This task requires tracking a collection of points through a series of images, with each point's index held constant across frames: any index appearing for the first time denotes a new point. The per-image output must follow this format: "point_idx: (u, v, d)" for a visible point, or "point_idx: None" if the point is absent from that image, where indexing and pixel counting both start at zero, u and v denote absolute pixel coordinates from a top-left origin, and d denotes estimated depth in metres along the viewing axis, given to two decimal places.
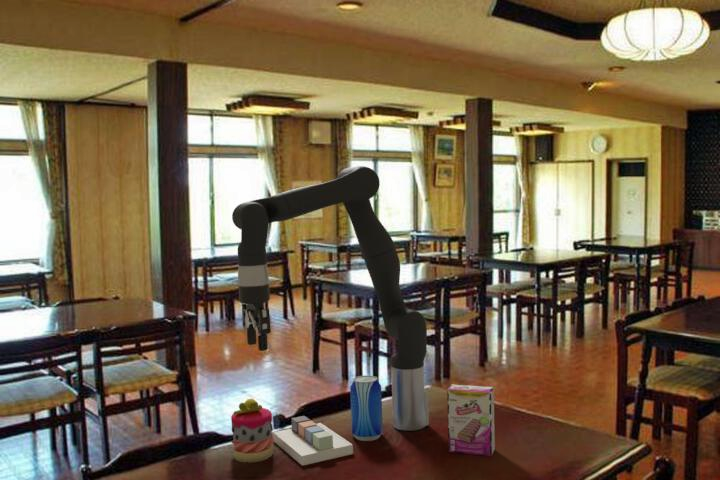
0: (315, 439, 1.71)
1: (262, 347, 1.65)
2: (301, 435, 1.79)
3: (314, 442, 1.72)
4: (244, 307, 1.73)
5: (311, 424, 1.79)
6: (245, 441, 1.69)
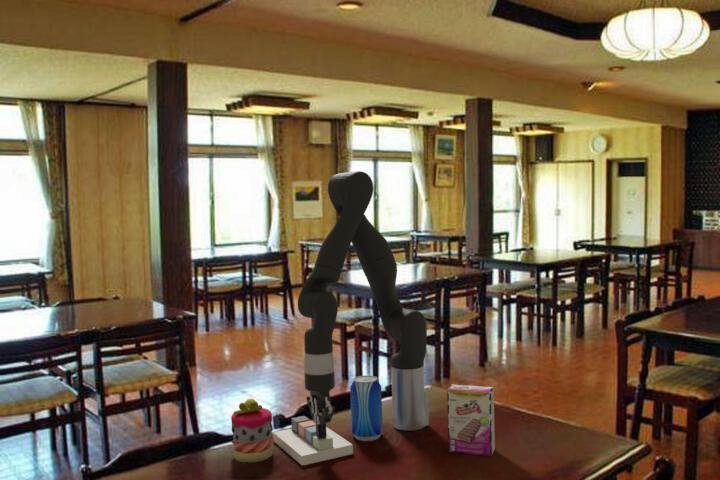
0: (315, 442, 1.71)
1: (321, 435, 1.70)
2: (301, 435, 1.79)
3: (314, 445, 1.72)
4: (309, 398, 1.75)
5: (311, 424, 1.79)
6: (245, 441, 1.69)
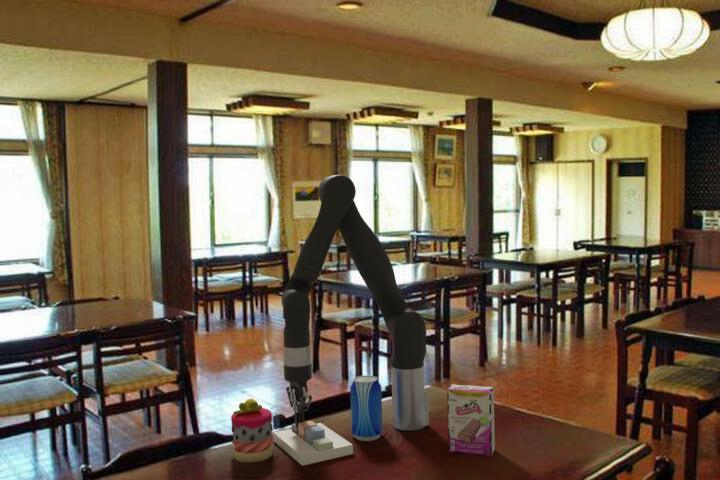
0: (315, 445, 1.71)
1: None
2: (301, 435, 1.79)
3: None
4: (288, 389, 1.87)
5: (311, 424, 1.79)
6: (245, 441, 1.69)
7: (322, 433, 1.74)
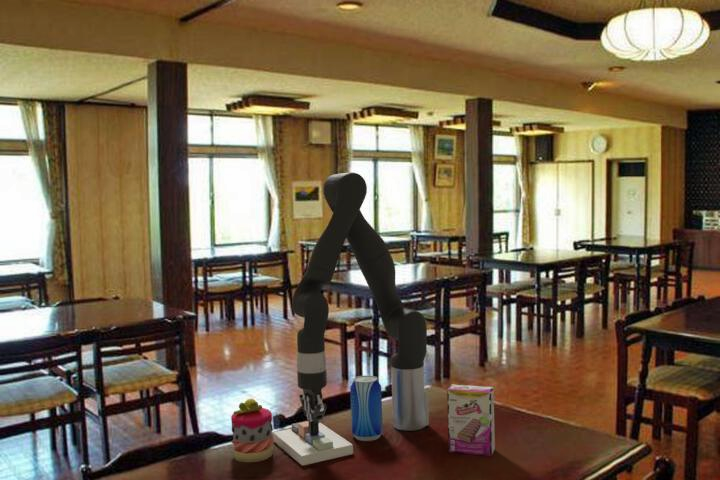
0: (315, 445, 1.71)
1: (314, 432, 1.74)
2: (301, 435, 1.79)
3: None
4: (302, 396, 1.79)
5: None
6: (245, 441, 1.69)
7: None
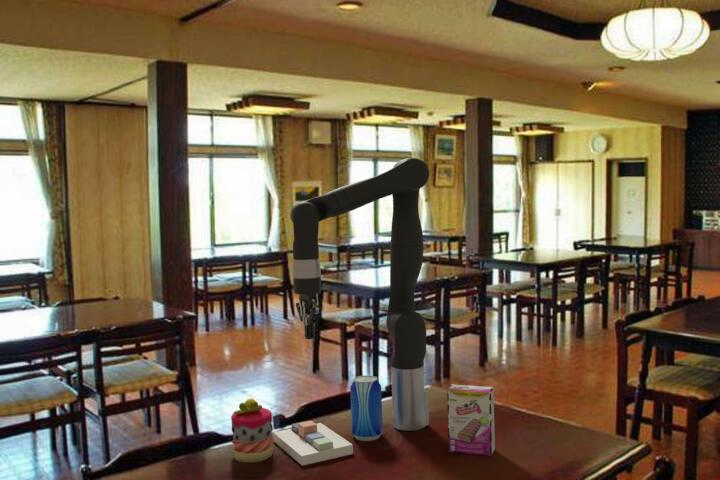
0: (315, 445, 1.71)
1: (309, 336, 1.84)
2: (301, 435, 1.79)
3: None
4: (298, 304, 1.89)
5: (311, 424, 1.79)
6: (245, 441, 1.69)
7: None
